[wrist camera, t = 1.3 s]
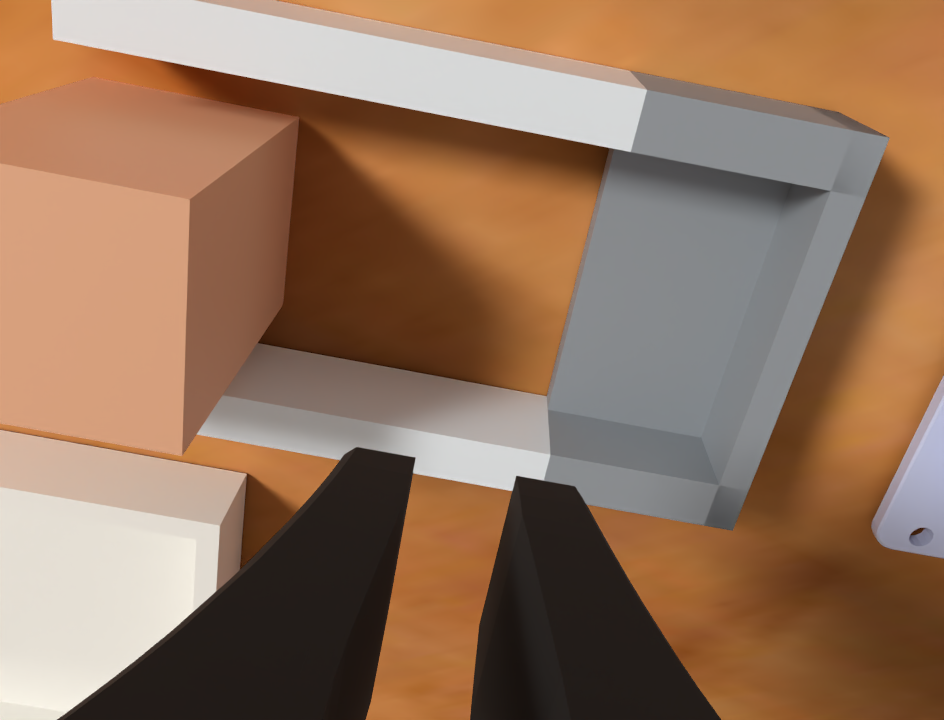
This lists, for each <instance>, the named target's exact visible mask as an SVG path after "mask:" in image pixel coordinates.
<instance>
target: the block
mask: <svg viewBox="0 0 944 720" xmlns="http://www.w3.org/2000/svg"><path fill="white" fill-rule="evenodd" d="M298 127H299V117H297V116H292V115H287V114H282V113H276V112H271V111H266V110H261V109H256V108H251V107H246V106H240V105H235V104H230V103H225V102H220V101H215V100H210V99H204V98H199V97H194V96H189V95H184V94H179V93H173V92H168V91H163V90H158V89H153V88H148V87H143V86H137V85H132V84H127V83H122V82H117V81H112V80H107V79H101V78H96V77H91V78H88V79H84V80H81V81H77V82H74V83H71V84H67V85H64V86H60V87H57V88H54V89H50V90H47V91H43V92H40V93H37V94H33V95H30V96H26V97H23V98H20V99H16V100H13V101H9V102H6V103H3V104H0V423H1V424H7V425H13V426H18V427H24V428H29V429H35V430H40V431H46V432H52V433H57V434H63V435H68V436H74V437H79V438H85V439H91V440H96V441H102V442H107V443H113V444H118V445H124V446H130V447H135V448H141V449H146V450H152V451H157V452H163V453H168V454H174V455H180V456H182V455H183V454H184V452H185V451H186V449H187V448H188V446H189V445H190V443H191V442H192V440H193V439H194V437H195V436H196V434H197V433H198V431H199V430H200V428H201V427H202V425H203V424H204V422H205V421H206V419H207V418H208V416H209V415H210V413H211V412H212V410H213V409H214V407H215V406H216V404H217V403H218V401H219V400H220V398H221V397H222V395H223V394H224V392H225V391H226V389H227V388H228V386H229V385H230V383H231V382H232V380H233V379H234V377H235V376H236V374H237V373H238V371H239V370H240V368H241V367H242V365H243V364H244V362H245V361H246V359H247V358H248V356H249V355H250V353H251V352H252V350H253V349H254V347H255V346H256V344H257V343H258V341H259V340H260V339H261V337H262V336H263V334H264V333H265V331H266V330H267V328H268V327H269V325H270V324H271V322H272V321H273V319H274V318H275V316H276V315H277V313H278V312H279V310H280V309H281V307H282V306H283V300H284V288H285V277H286V265H287V253H288V242H289V230H290V219H291V207H292V196H293V184H294V173H295V161H296V150H297V138H298Z"/></svg>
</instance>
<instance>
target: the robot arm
mask: <svg viewBox="0 0 944 720" xmlns="http://www.w3.org/2000/svg"><path fill="white" fill-rule="evenodd" d="M415 459H416V457H410V456H404V455H399V454H393V453H388V452H382V451H377V450H371V449H366V448H360V447H356V448H354V449H352V450H351V451H349V452H347V453H346V454H344V455H343V457H342V458H341V460H340V461H339V463H338V464H337V465H336V467H335V468H334V469H333V471H332V472H331V473H330V474H329V476H328V477H327V478H326V479H325V481H324V482H323V483H322V484H321V485H320V487H319V488H318V489H317V490H316V491H315V492H314V494H313V495H312V496H311V497H310V498H309V499H308V500H307V501H306V503H305V504H304V505H303V506H302V507H301V508H300V509H299V510H298V511H297V512H296V514H295V515H294V516H293V517H292V518H291V519H290V520H289V521H288V522H287V523H286V524H285V525H284V526H283V527H282V528H281V529H280V530H279V531H278V532H277V533H276V534H275V535H274V536H273V537H272V538H271V539H270V540H269V541H268V542H267V543H266V544H265V545H264V546H263V547H262V548H261V549H260V550H259V551H258V552H257V553H256V555H255V556H254V557H253V558H252V559H251V560H250V561H249V562H248V563H247V564H246V565H244V566H243V567H242V568H241V569H240V570H239V571H238V572H237V573H236V574H235V575H234V576H233V577H232V578H231V579H230V580H228V581H227V582H226V583H225V584H224V585H223V586H222V587H221V588H219V589H218V590H217V591H216V592H215V593H214V594H213V595H212V596H210V597H209V598H208V599H207V600H206V601H205V602H204V603H202V604H201V605H200V606H199V607H198V608H197V609H196V610H195V611H193V612H192V613H191V614H190V615H189V616H188V617H187V618H186V619H184V620H183V621H182V622H181V623H180V624H179V625H178V626H177V627H175V628H174V629H173V630H172V631H171V632H170V633H168V634H167V635H166V636H165V637H164V638H162V639H161V640H160V641H159V642H158V643H156V644H155V645H154V646H153V647H151V648H150V649H149V650H148V651H146V652H145V653H144V654H143V655H142V656H140V657H139V658H138V659H137V660H135V661H134V662H133V663H132V664H130V665H129V666H128V667H126V668H125V669H124V670H123V671H121V672H120V673H119V674H117V675H116V676H115V677H114V678H112V679H111V680H110V681H108V682H107V683H106V684H104V685H103V686H102V687H100V688H99V689H98V690H96V691H95V692H94V693H92V694H91V695H90V696H88V697H87V698H86V699H84V700H83V701H82V702H80V703H79V704H78V705H76V706H75V707H74V708H72V709H71V710H70V711H68V712H67V713H65V714H64V715H63V716H61V717H60V718H59V719H57V720H365V719H366V716H367V712H368V709H369V706H370V702H371V698H372V692H373V687H374V682H375V677H376V672H377V666H378V661H379V656H380V651H381V646H382V641H383V635H384V630H385V625H386V620H387V615H388V609H389V604H390V598H391V593H392V587H393V581H394V576H395V570H396V565H397V559H398V554H399V548H400V542H401V537H402V531H403V526H404V520H405V515H406V509H407V503H408V498H409V492H410V487H411V481H412V475H413V470H414V464H415ZM871 528H872V531H873V534H874V536H875V537H876V539H877V540H878V542H879V543H880V544H881V545H882V546H884V547H886V548H889V549H893V550H899V551H904V552H910V553H915V554H921V555H927V556H932V557H938V558H943V559H944V376H943V378H942V380H941V382H940V384H939V386H938V388H937V390H936V392H935V394H934V396H933V398H932V400H931V402H930V404H929V406H928V408H927V410H926V413H925V415H924V417H923V419H922V421H921V423H920V425H919V427H918V429H917V431H916V433H915V435H914V437H913V439H912V441H911V443H910V445H909V447H908V449H907V451H906V453H905V455H904V457H903V459H902V461H901V464H900V466H899V468H898V470H897V472H896V474H895V476H894V478H893V480H892V482H891V484H890V486H889V488H888V490H887V492H886V494H885V496H884V498H883V500H882V502H881V504H880V506H879V508H878V510H877V513H876V515H875V517H874V519H873V521H872V526H871ZM918 528H925V529H924V530H923V531H922V532H921V533H919V534H917V535H910V534H911V533H912V532H913V531H914V530H916V529H918ZM470 720H721V719H720V717H719V716H718V715H717V713H716V712H715V710H714V709H713V708H712V706H711V705H710V703H709V702H708V701H707V699H706V698H705V696H704V695H703V694H702V692H701V691H700V689H699V688H698V687H697V685H696V684H695V682H694V681H693V679H692V678H691V676H690V675H689V673H688V672H687V670H686V669H685V667H684V666H683V664H682V663H681V662H680V660H679V659H678V657H677V656H676V654H675V652H674V651H673V649H672V648H671V646H670V645H669V643H668V641H667V640H666V638H665V637H664V635H663V634H662V632H661V631H660V629H659V627H658V626H657V624H656V623H655V621H654V620H653V618H652V616H651V615H650V613H649V612H648V610H647V609H646V607H645V605H644V604H643V602H642V601H641V599H640V597H639V596H638V594H637V592H636V591H635V589H634V587H633V586H632V584H631V582H630V581H629V579H628V577H627V576H626V574H625V572H624V570H623V569H622V567H621V565H620V564H619V562H618V560H617V558H616V557H615V555H614V553H613V551H612V550H611V548H610V546H609V544H608V543H607V541H606V539H605V537H604V536H603V534H602V532H601V530H600V528H599V527H598V525H597V523H596V521H595V519H594V517H593V516H592V514H591V512H590V510H589V508H588V507H587V505H586V503H585V501H584V499H583V498H582V496H581V495H580V493H579V492H578V490H577V488H576V487H575V486H571V485H565V484H560V483H554V482H549V481H543V480H538V479H532V478H527V477H521V476H516V479H515V483H514V487H513V491H512V495H511V499H510V503H509V507H508V511H507V515H506V519H505V523H504V527H503V531H502V536H501V540H500V544H499V548H498V552H497V556H496V560H495V564H494V568H493V572H492V576H491V580H490V584H489V588H488V592H487V596H486V601H485V605H484V609H483V613H482V617H481V621H480V625H479V634H478V644H477V654H476V664H475V673H474V684H473V695H472V705H471V716H470Z"/></svg>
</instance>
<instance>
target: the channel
mask: <svg viewBox="0 0 944 720" xmlns="http://www.w3.org/2000/svg"><path fill="white" fill-rule="evenodd" d="M51 2H52V27H53V39H54V40H59V41H64V42H69V43H74V44H79V45H85V46H90V47H95V48H100V49H105V50H110V51H115V52H121V53H126V54H131V55H136V56H141V57H146V58H151V59H156V60H162V61H167V62H172V63H177V64H182V65H187V66H192V67H197V68H203V69H208V70H213V71H218V72H223V73H228V74H233V75H238V76H244V77H249V78H254V79H259V80H264V81H269V82H274V83H280V84H285V85H290V86H295V87H300V88H305V89H310V90H315V91H321V92H326V93H331V94H336V95H341V96H346V97H351V98H356V99H362V100H367V101H372V102H377V103H382V104H387V105H392V106H397V107H403V108H408V109H413V110H418V111H423V112H428V113H433V114H438V115H444V116H449V117H454V118H459V119H464V120H469V121H474V122H480V123H485V124H490V125H495V126H500V127H505V128H510V129H515V130H521V131H526V132H531V133H536V134H541V135H546V136H551V137H556V138H562V139H567V140H572V141H577V142H582V143H587V144H592V145H597V146H603V147H608V148H613V149H618V150H623V151H628V152H631V149H632V145H633V141H634V138H635V134H636V130H637V126H638V123H639V119H640V115H641V111H642V107H643V104H644V100H645V96H646V92H647V89H646V88H645V87H644V86H643V85H642V84H641V83H640V82H639V81H638V80H637V78H636V77H635V76H634V75H633V74H632V73H631V72H630V71H629V70H624V69H619V68H614V67H609V66H604V65H599V64H593V63H588V62H583V61H578V60H573V59H568V58H563V57H558V56H553V55H548V54H543V53H538V52H533V51H528V50H523V49H518V48H513V47H508V46H503V45H498V44H493V43H488V42H483V41H478V40H473V39H467V38H462V37H457V36H452V35H447V34H442V33H437V32H432V31H427V30H422V29H417V28H412V27H407V26H402V25H397V24H392V23H387V22H382V21H377V20H372V19H367V18H362V17H357V16H352V15H347V14H342V13H336V12H331V11H326V10H321V9H316V8H311V7H306V6H301V5H296V4H291V3H286V2H281V1H276V0H51ZM197 434H198V435H203V436H209V437H214V438H220V439H225V440H231V441H237V442H242V443H248V444H253V445H259V446H264V447H270V448H275V449H281V450H287V451H292V452H298V453H303V454H309V455H314V456H320V457H326V458H331V459H337V460H341V458H342V457H343V455H344V454H346V453H347V452H349V451H351V450H352V449H354V448H356V447H360V448H366V449H371V450H377V451H382V452H388V453H393V454H399V455H404V456H410V457H416V459H415V464H414V470H413V473H415V474H420V475H426V476H431V477H437V478H443V479H448V480H454V481H459V482H465V483H470V484H476V485H482V486H487V487H493V488H498V489H504V490H509V491H513V487H514V483H515V479H516V476H521V477H527V478H532V479H538V480H543V481H544V478H545V474H546V470H547V466H548V463H549V459H550V455H551V454H550V438H549V423H548V408H547V396H543V395H537V394H532V393H526V392H521V391H515V390H510V389H505V388H499V387H494V386H488V385H483V384H477V383H472V382H466V381H461V380H456V379H450V378H445V377H439V376H434V375H428V374H423V373H418V372H412V371H407V370H401V369H396V368H390V367H385V366H379V365H374V364H369V363H363V362H358V361H352V360H347V359H341V358H336V357H331V356H325V355H320V354H314V353H309V352H303V351H298V350H292V349H287V348H282V347H276V346H271V345H265V344H260V343H257V344H256V346H255V347H254V349H253V350H252V352H251V353H250V355H249V356H248V358H247V359H246V361H245V362H244V364H243V365H242V367H241V368H240V370H239V371H238V373H237V374H236V376H235V377H234V379H233V380H232V382H231V383H230V385H229V386H228V388H227V389H226V391H225V392H224V394H223V395H222V397H221V398H220V400H219V401H218V403H217V404H216V406H215V407H214V409H213V410H212V412H211V413H210V415H209V416H208V418H207V419H206V421H205V422H204V424H203V425H202V427H201V428H200V430H199V431H198V433H197Z"/></svg>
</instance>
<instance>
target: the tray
mask: <svg viewBox="0 0 944 720" xmlns="http://www.w3.org/2000/svg"><path fill="white" fill-rule="evenodd" d="M246 479H247V474H245V473H240V472H234V471H229V470H223V469H217V468H212V467H206V466H201V465H195V464H189V463H184V462H178V461H173V460H167V459H161V458H156V457H150V456H145V455H139V454H133V453H128V452H122V451H116V450H111V449H105V448H100V447H94V446H88V445H83V444H77V443H72V442H66V441H60V440H55V439H49V438H44V437H38V436H32V435H27V434H21V433H16V432H10V431H4V430H0V720H57V719H59V718H60V717H61V716H63V715H64V714H65V713H67V712H68V711H70V710H71V709H72V708H74V707H75V706H76V705H78V704H79V703H80V702H82V701H83V700H84V699H86V698H87V697H88V696H90V695H91V694H92V693H94V692H95V691H96V690H98V689H99V688H100V687H102V686H103V685H104V684H106V683H107V682H108V681H110V680H111V679H112V678H114V677H115V676H116V675H117V674H119V673H120V672H121V671H123V670H124V669H125V668H126V667H128V666H129V665H130V664H132V663H133V662H134V661H135V660H137V659H138V658H139V657H140V656H142V655H143V654H144V653H145V652H146V651H148V650H149V649H150V648H151V647H153V646H154V645H155V644H156V643H158V642H159V641H160V640H161V639H162V638H164V637H165V636H166V635H167V634H168V633H170V632H171V631H172V630H173V629H174V628H175V627H177V626H178V625H179V624H180V623H181V622H182V621H183V620H184V619H186V618H187V617H188V616H189V615H190V614H191V613H192V612H193V611H195V610H196V609H197V608H198V607H199V606H200V605H201V604H202V603H204V602H205V601H206V600H207V599H208V598H209V597H210V596H212V595H213V594H214V593H215V592H216V591H217V590H218V589H219V588H221V587H222V586H223V585H224V584H225V583H226V582H227V581H228V580H230V579H231V578H232V577H233V576H234V575H235V574H236V573H237V572H238V571H239V570H240V561H241V548H242V534H243V520H244V506H245V492H246Z"/></svg>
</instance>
